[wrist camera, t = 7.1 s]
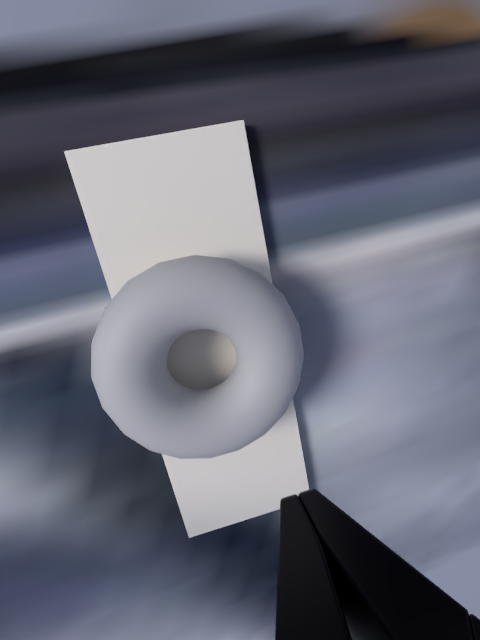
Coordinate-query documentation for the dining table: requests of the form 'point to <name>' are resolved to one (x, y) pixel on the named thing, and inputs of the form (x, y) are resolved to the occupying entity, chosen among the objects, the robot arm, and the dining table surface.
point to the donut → (176, 320)
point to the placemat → (181, 241)
